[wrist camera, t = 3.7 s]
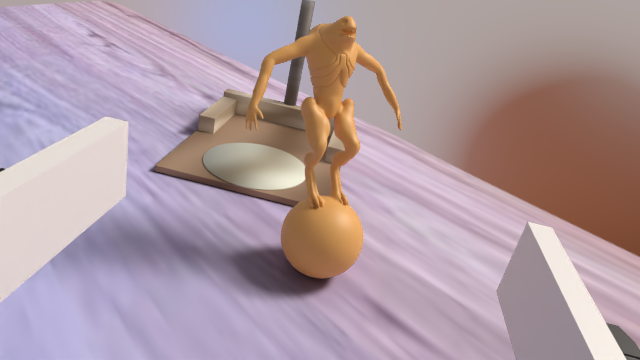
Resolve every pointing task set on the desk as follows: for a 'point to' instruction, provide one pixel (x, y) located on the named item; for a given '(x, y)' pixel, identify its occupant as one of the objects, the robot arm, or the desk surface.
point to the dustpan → (255, 143)
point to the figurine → (324, 147)
